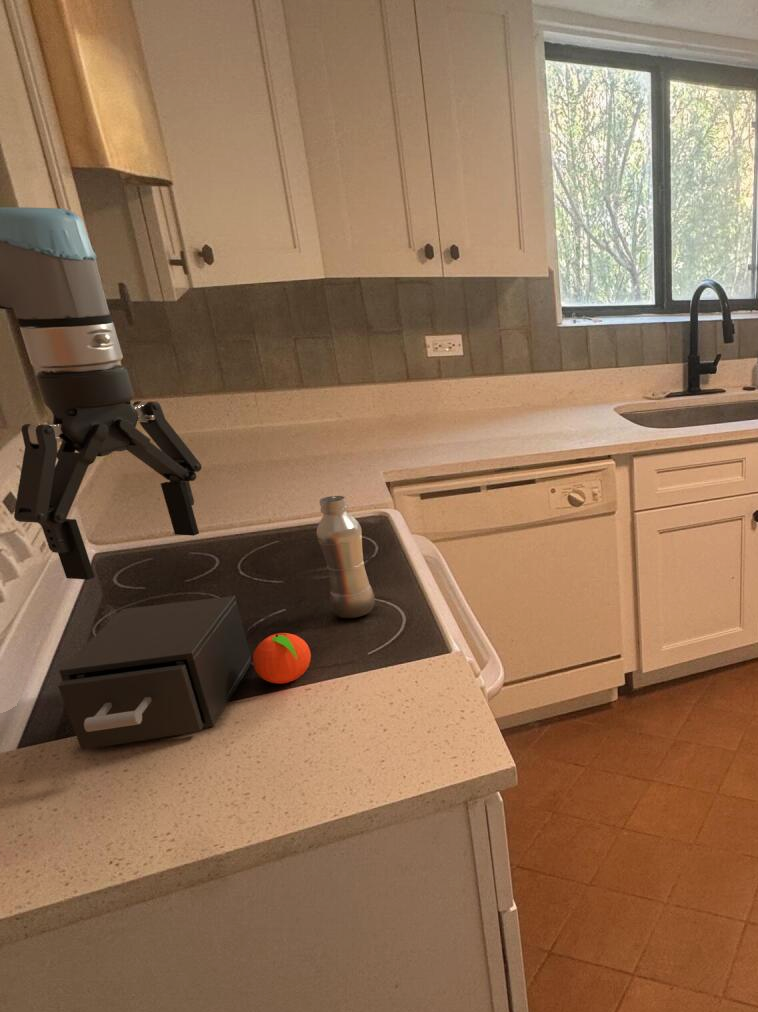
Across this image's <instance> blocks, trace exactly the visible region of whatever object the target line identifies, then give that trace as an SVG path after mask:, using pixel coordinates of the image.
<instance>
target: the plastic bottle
mask: <svg viewBox="0 0 758 1012" xmlns="http://www.w3.org/2000/svg"><path fill="white" fill-rule="evenodd" d="M319 506H320V513H321V514H323V515H322V517H321V519H320V521H319V523H318V525H317V527H316V532H315V534H316V537H317V540H318V544H319V546H320V548H321V551H322V554H323V557H324V560H325V564H326V565H327V566H326V567H327V571H328V578H329V587H330V588H329V589H330V594H329V600H330V606H331V608H332V611H333V613H334V614H335V615H336V616H337V617H339V618H342V619H355V618H358V617H363V616H366V615H368V614H369V613H371V612H372V611H373V610H374V607H375V604H376V603H375V599H376V597H375V596H376V595H375V594H374V590H373V588H372V586H371V584H370V581H369V577H368V574H367V571H366V567H365V561H364V552H363V535H362V534H363V533H362V532H363V531H362V526H361V525H360V522H359V521H358V520H357V519H356V518H355V517H353V516H352V515H351V514H350V513H349V512H348V511H347V510H349V507H348V504H347V501H346V498H345V496H344V495H330V496H325V497H322V498H320V499H319Z"/></svg>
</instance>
